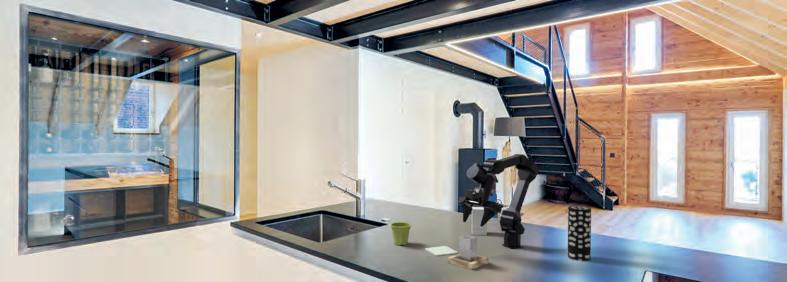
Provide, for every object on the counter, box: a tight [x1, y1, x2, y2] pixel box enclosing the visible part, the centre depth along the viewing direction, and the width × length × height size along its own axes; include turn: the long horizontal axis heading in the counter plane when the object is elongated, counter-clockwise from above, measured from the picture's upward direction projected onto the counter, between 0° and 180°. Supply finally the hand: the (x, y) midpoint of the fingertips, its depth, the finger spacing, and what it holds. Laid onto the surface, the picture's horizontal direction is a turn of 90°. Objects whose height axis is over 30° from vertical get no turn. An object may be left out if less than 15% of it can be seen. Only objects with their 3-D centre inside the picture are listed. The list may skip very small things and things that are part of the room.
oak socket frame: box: [447, 253, 489, 271], centre depth 152 cm, size 11×11×2 cm
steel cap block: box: [458, 234, 478, 262], centre depth 152 cm, size 4×5×10 cm
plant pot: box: [389, 221, 412, 246], centre depth 178 cm, size 9×9×9 cm
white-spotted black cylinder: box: [567, 205, 592, 262], centre depth 159 cm, size 8×8×20 cm
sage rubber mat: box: [424, 245, 459, 257], centre depth 167 cm, size 10×10×1 cm
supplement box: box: [471, 206, 488, 236], centre depth 198 cm, size 7×7×13 cm
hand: (472, 224), depth 159 cm, fingers open, 9 cm apart
